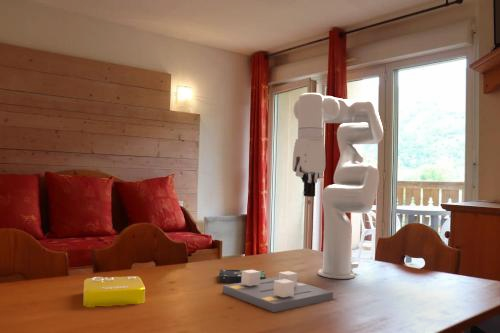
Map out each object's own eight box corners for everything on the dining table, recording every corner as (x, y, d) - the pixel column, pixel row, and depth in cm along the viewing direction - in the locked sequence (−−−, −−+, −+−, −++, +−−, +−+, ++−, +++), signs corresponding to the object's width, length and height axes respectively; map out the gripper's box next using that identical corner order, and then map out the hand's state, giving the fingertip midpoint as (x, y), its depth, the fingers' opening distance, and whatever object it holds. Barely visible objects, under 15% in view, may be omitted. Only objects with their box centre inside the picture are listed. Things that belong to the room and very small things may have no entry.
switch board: (279, 283, 140) (279, 276, 140) (332, 299, 123) (333, 291, 123) (222, 292, 127) (222, 285, 127) (273, 312, 109) (274, 303, 110)
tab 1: (252, 281, 131) (252, 269, 131) (259, 284, 128) (260, 271, 128) (241, 283, 128) (241, 270, 128) (249, 286, 125) (249, 273, 125)
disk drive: (218, 285, 138) (266, 285, 139) (218, 276, 138) (266, 276, 139) (219, 277, 148) (263, 277, 149) (219, 269, 148) (263, 269, 149)
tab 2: (288, 283, 130) (288, 271, 130) (297, 285, 127) (297, 273, 127) (278, 285, 128) (278, 272, 128) (286, 287, 125) (287, 274, 125)
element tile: (83, 309, 108) (83, 289, 108) (83, 293, 122) (84, 276, 122) (145, 305, 113) (146, 286, 113) (139, 290, 127) (139, 274, 127)
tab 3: (284, 292, 120) (284, 278, 120) (293, 295, 117) (294, 281, 117) (273, 294, 117) (273, 280, 117) (282, 297, 114) (283, 283, 114)
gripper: (318, 136, 140) (317, 194, 140) (283, 134, 131) (282, 196, 131) (336, 135, 134) (335, 196, 134) (301, 133, 125) (300, 198, 125)
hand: (309, 196), depth 133 cm, fingers closed
